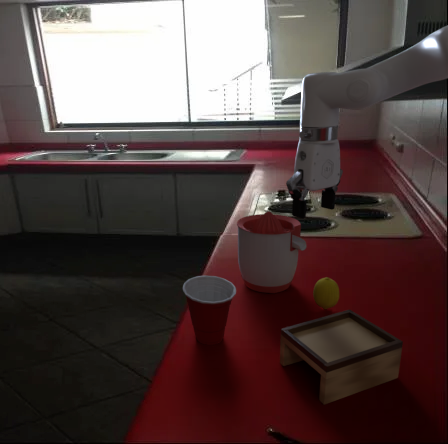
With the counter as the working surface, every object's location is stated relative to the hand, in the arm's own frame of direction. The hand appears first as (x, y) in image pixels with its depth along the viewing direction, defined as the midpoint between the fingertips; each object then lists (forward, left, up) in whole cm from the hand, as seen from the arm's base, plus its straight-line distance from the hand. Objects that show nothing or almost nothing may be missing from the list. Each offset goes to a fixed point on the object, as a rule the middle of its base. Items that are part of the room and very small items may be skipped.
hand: (313, 212), depth 93 cm
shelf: (+12, +22, -22) cm, 34 cm away
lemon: (-1, +4, -23) cm, 23 cm away
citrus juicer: (+3, -12, -23) cm, 26 cm away
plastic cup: (+28, +3, -23) cm, 36 cm away
